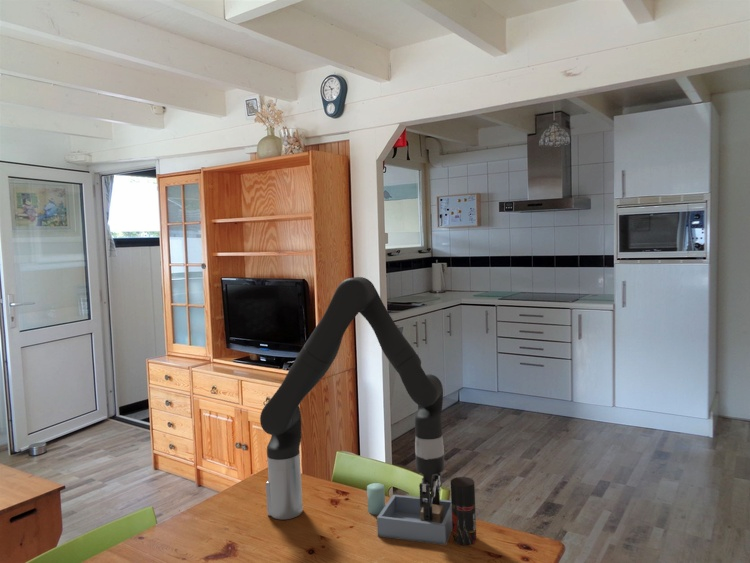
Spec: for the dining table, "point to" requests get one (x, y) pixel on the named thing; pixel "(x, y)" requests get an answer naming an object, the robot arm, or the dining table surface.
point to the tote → (413, 521)
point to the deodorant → (463, 511)
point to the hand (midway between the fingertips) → (432, 512)
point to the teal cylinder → (375, 498)
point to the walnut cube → (435, 514)
